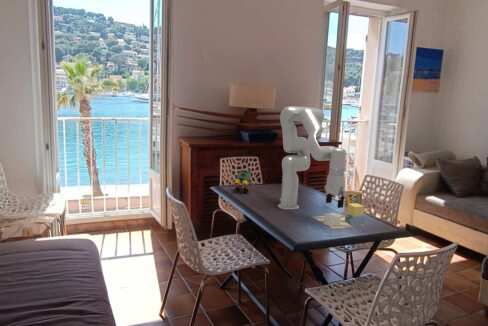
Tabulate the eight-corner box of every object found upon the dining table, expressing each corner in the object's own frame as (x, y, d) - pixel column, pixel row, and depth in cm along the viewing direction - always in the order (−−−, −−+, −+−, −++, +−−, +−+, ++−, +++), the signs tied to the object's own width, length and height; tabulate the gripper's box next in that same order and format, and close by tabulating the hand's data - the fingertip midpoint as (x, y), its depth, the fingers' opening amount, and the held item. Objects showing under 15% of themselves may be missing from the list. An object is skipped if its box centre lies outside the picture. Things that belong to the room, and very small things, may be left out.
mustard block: (346, 212, 204) (347, 203, 204) (355, 212, 207) (356, 203, 206) (354, 216, 199) (355, 207, 198) (363, 215, 201) (364, 206, 201)
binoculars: (232, 195, 265) (229, 179, 255) (238, 182, 275) (235, 166, 265) (252, 198, 261) (250, 181, 251) (257, 184, 271) (255, 168, 261)
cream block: (323, 222, 202) (324, 213, 201) (332, 221, 204) (333, 212, 203) (330, 226, 196) (331, 217, 196) (339, 225, 199) (340, 216, 198)
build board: (311, 219, 211) (312, 208, 210) (341, 216, 219) (342, 205, 218) (332, 230, 194) (333, 218, 193) (364, 227, 202) (365, 215, 201)
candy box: (359, 217, 219) (362, 191, 216) (359, 219, 215) (362, 192, 212) (343, 215, 221) (346, 189, 219) (343, 217, 217) (346, 191, 214)
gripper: (320, 169, 202) (318, 201, 204) (341, 175, 186) (338, 210, 189) (332, 169, 205) (330, 200, 207) (353, 175, 189) (351, 209, 192)
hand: (334, 205), depth 198 cm, fingers open, 9 cm apart
